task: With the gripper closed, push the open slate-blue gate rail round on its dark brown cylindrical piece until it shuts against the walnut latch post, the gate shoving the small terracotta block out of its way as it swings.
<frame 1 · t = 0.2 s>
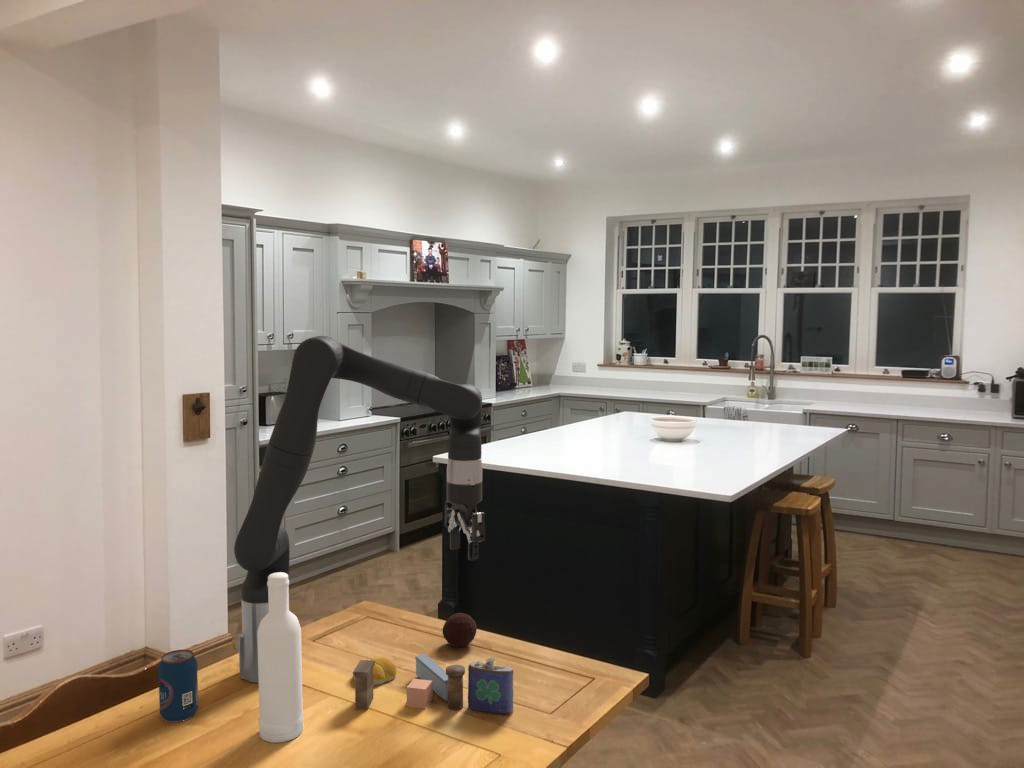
hand: (463, 554, 172), 27 cm above the table, tool pointing down, fingers open, 8 cm apart
flask: (490, 711, 159), on the table
potato: (459, 646, 190), on the table
bread roll: (374, 679, 174), on the table
gate: (434, 677, 168), point 2 cm above the table, hinge at -55.0°
latch post: (364, 703, 162), on the table
bottle: (281, 733, 150), on the table
soda can: (179, 716, 157), on the table
block: (419, 703, 162), on the table
dark brown cylindrical piece: (455, 706, 160), on the table
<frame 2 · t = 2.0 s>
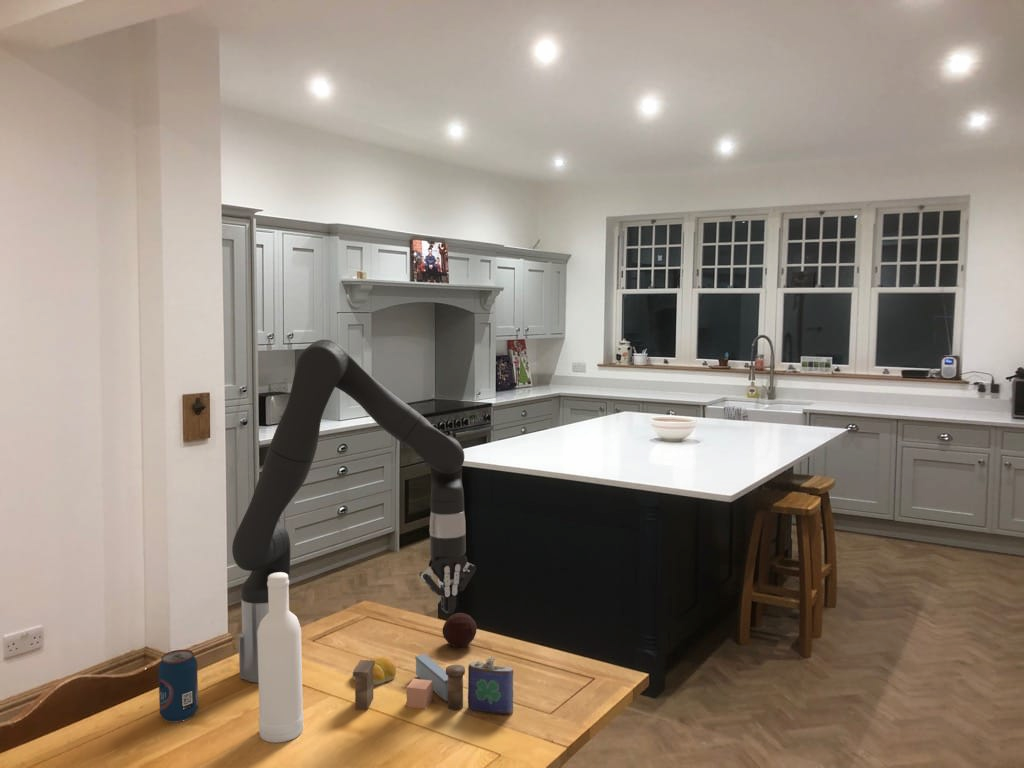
hand: (448, 611, 172), 15 cm above the table, tool pointing down, fingers closed
nothing on the table moved.
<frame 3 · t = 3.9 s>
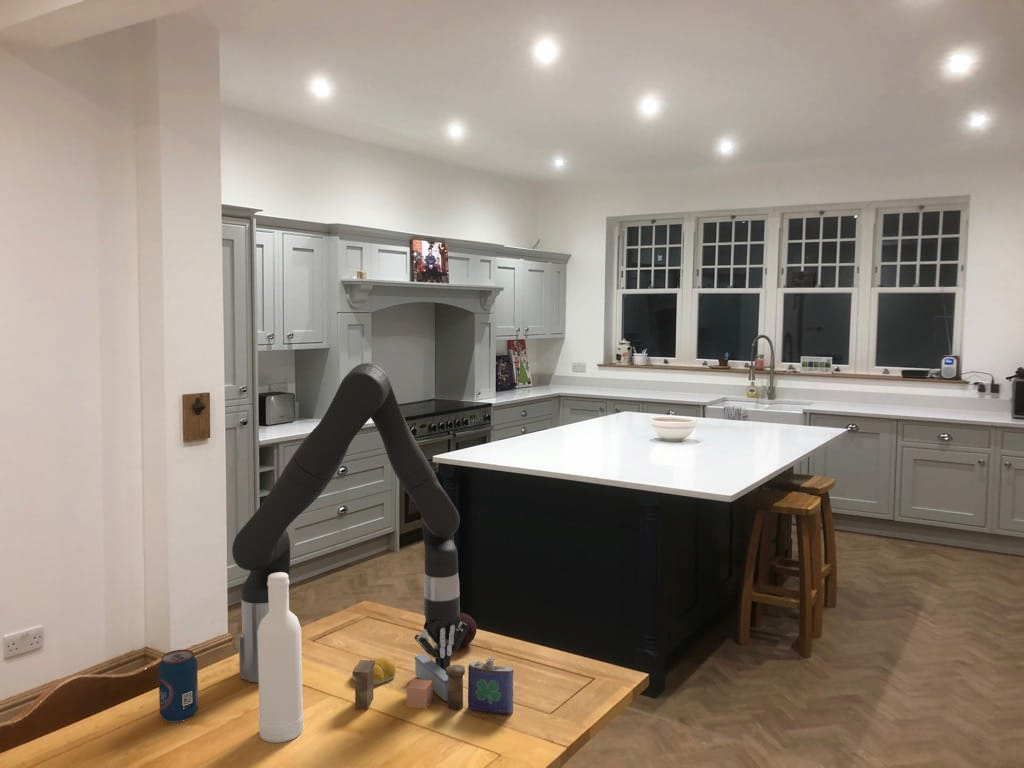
hand: (443, 672, 173), 2 cm above the table, tool pointing down, fingers closed
gate: (434, 677, 168), point 2 cm above the table, hinge at -54.5°, touching gripper
everything else where it was.
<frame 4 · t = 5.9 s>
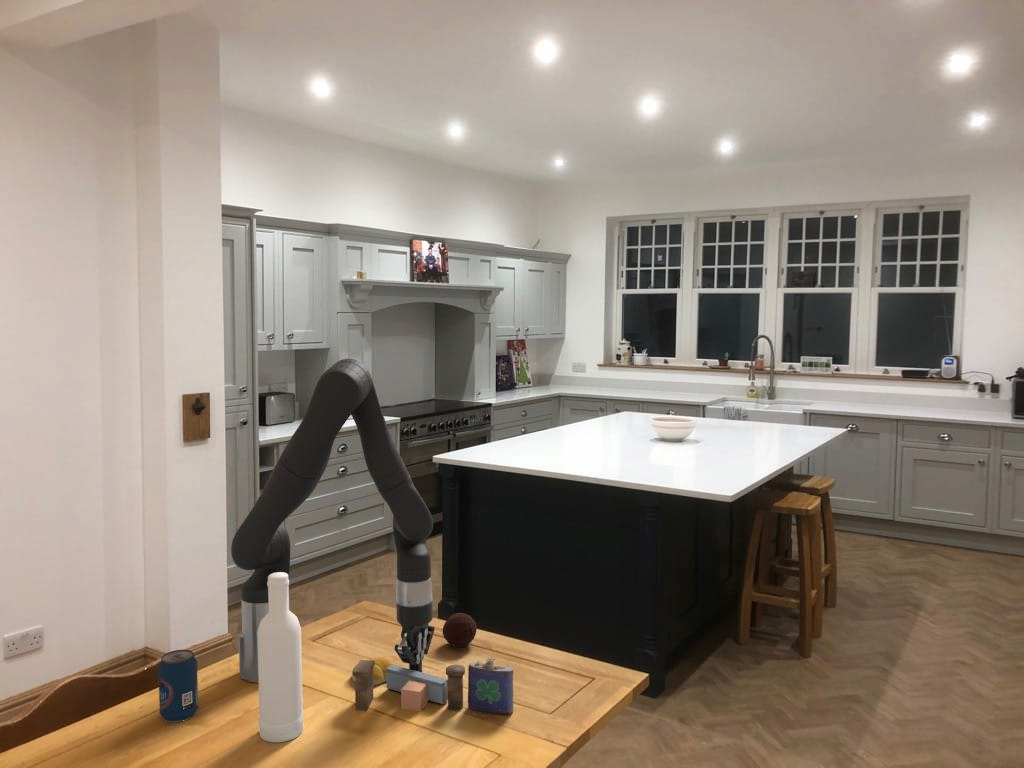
hand: (415, 678, 169), 2 cm above the table, tool pointing down, fingers closed
gate: (417, 684, 165), point 2 cm above the table, hinge at -26.1°, touching block, gripper
block: (414, 705, 161), on the table, touching gate
everything else where it was.
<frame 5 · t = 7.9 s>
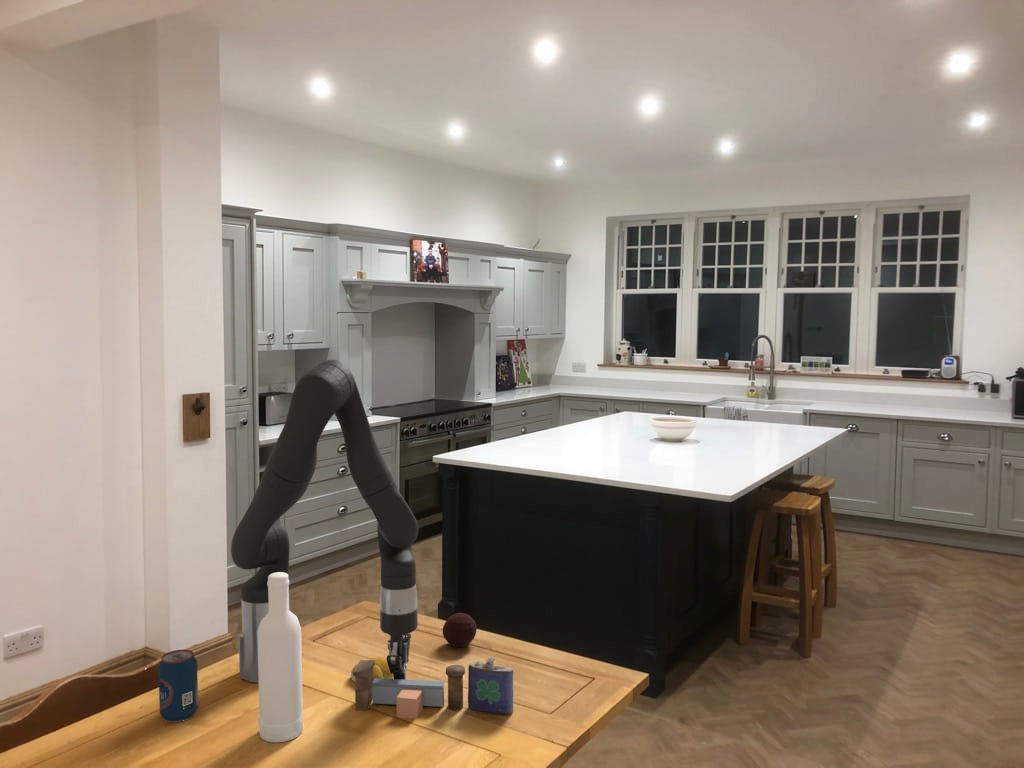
hand: (399, 688, 165), 2 cm above the table, tool pointing down, fingers closed
gate: (408, 692, 161), point 2 cm above the table, hinge at -2.0°, touching gripper
block: (409, 713, 158), on the table
everything else where it was.
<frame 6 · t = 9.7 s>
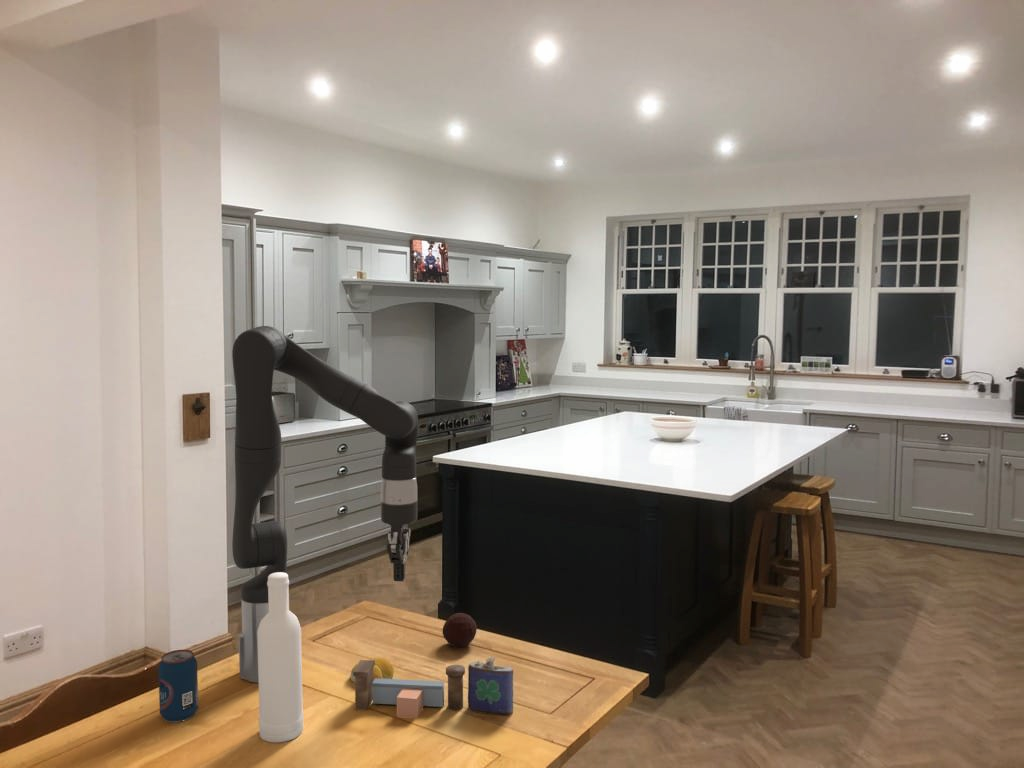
hand: (399, 580, 169), 22 cm above the table, tool pointing down, fingers closed
gate: (408, 692, 161), point 2 cm above the table, hinge at -1.9°
everything else where it was.
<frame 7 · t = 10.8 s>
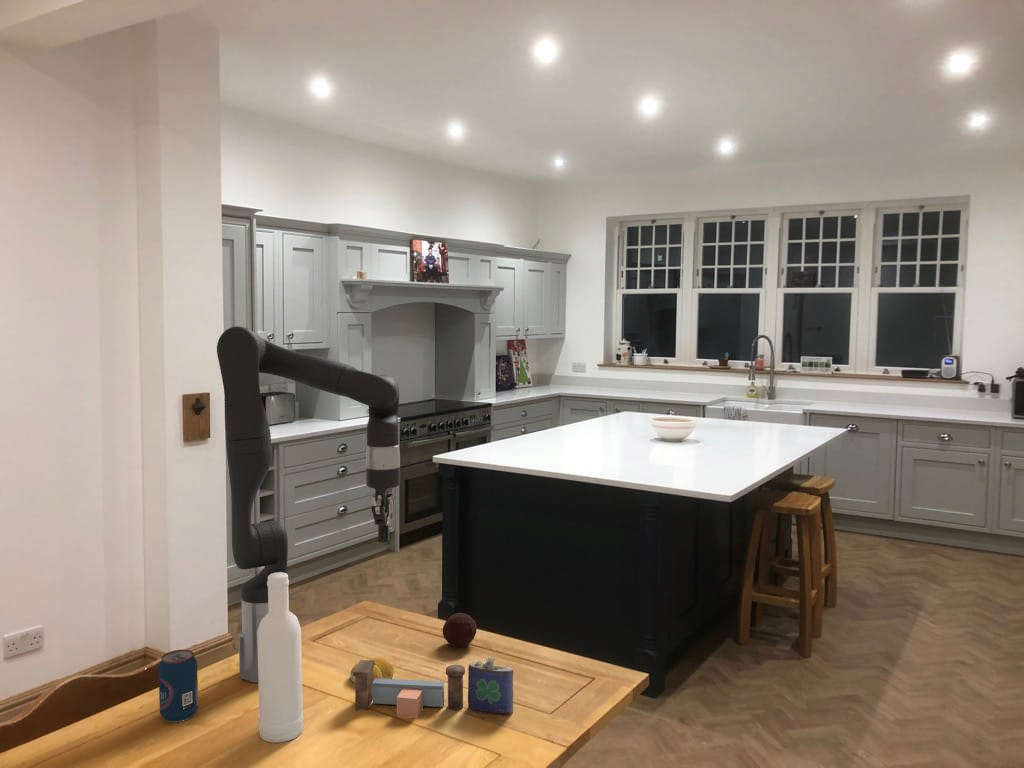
hand: (384, 541, 181), 27 cm above the table, tool pointing down, fingers closed
nothing on the table moved.
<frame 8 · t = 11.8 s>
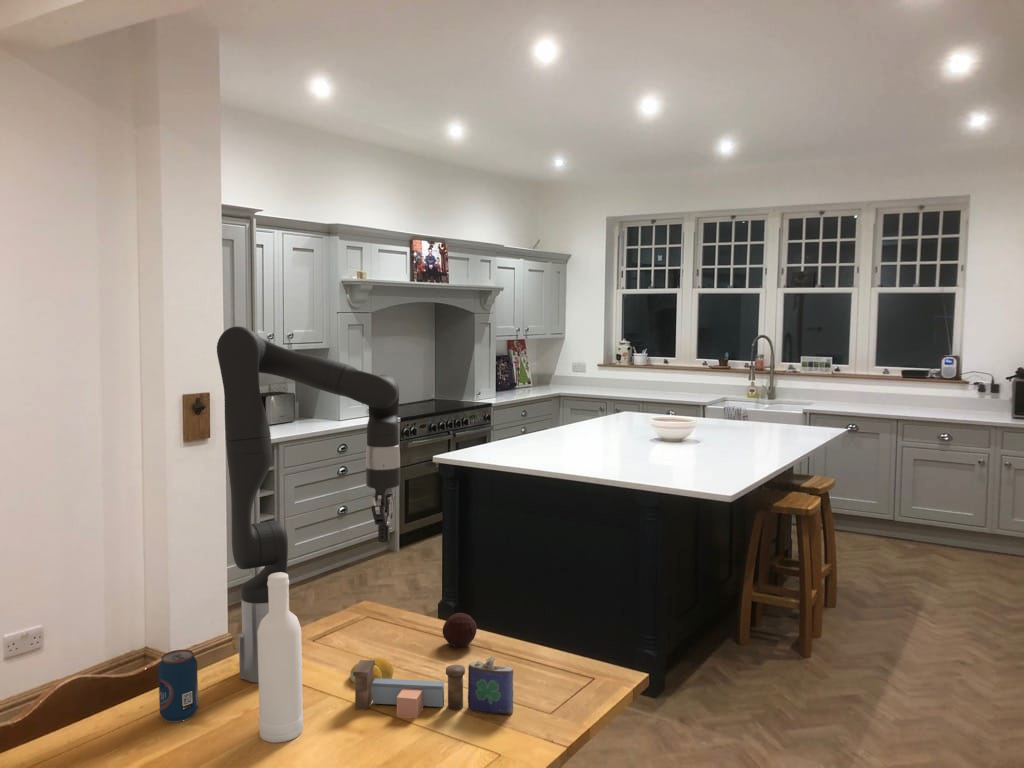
hand: (384, 541, 181), 27 cm above the table, tool pointing down, fingers closed
nothing on the table moved.
at the end: gate at -2° (first picture: -55°); block inside the target area (6.9 cm from its centre), on the table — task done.
